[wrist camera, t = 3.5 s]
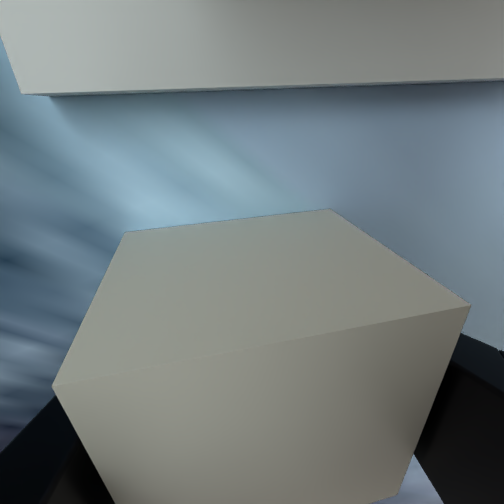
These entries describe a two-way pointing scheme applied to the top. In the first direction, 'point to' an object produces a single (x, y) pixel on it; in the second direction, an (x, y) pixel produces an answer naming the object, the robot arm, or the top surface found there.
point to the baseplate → (247, 44)
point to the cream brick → (258, 363)
